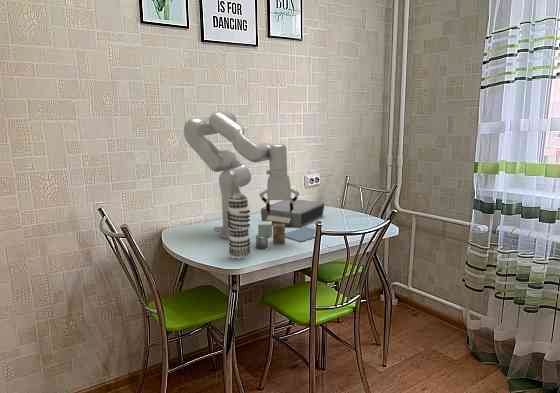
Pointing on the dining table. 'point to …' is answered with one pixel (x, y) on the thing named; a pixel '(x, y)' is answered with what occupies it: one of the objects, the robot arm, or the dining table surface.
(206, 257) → the dining table surface
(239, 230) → the decorative candle
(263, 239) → the grey cylinder
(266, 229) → the sage cube
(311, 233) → the mat
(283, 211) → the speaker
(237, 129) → the robot arm
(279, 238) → the walnut block
